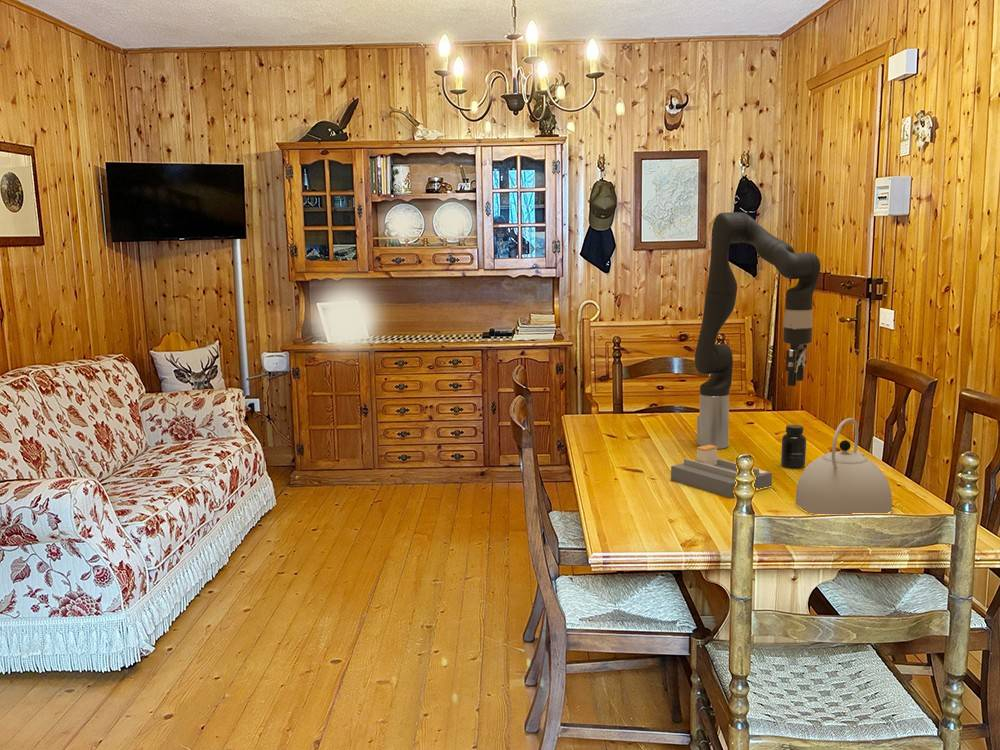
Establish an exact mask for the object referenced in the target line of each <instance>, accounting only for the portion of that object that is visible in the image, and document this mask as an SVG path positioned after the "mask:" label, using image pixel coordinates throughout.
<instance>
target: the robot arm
mask: <svg viewBox="0 0 1000 750" xmlns="http://www.w3.org/2000/svg"><path fill="white" fill-rule="evenodd" d="M740 243H745V244H749V245H752V246H753V247H754V248H755V251H756V253H757V255H758V256H759V257H760V258H761V259H763V260H764V261H766V262H768V263H769V264H771V265H772V266H774V268H775V269H776V270H777V271H778V273H779V274H780V275H781V276H782V277H784V278H786V279H788V280H789V279H790V280H797V284H796V285H795V286H793V287H790V288H788V289H787V290H786V293H785V301H784V302H785V305H784V306H785V310H784V316H783V328H782V329H783V330H782V331H783V333H782V341H783V343H786V344H790V345H789V349H788V348H787V349H786V350H785V352H786V353H785V354H786V357H785V368H784V370H785V372H786V373H787V386H789V387H795V386H797V381H799V382H800V381H801V382H802V381H804V371H805V370H804V369H805V367H806V364H807V350H808V348H807V347H808V344H811V343H812V339H813V338H812V337H813V296H814V292H815V289H816V285H817V283H818V279H819V277H820V273H821V260H820V259H819V256H818V255H817V254H816V253H813V252H796V251H795V249H794V248H793V246H792V245H790V244H789V243H787V242H786V241H784V240H782V239H780V238H779V237H777V236H775V235H773V234H772V233H770V232H768V231H767V230H766V229H765V228H764V227H763V226H762V225H761V224H760V223H758V222H757V221H756V220H755V219H754V218H753V217H751V216H750V215H749V214H748V213H745V212H741V211H740V212H736V211H735V212H729V211H728V212H720V213H718V214H717V215H716V216H715V217H714V220H713V223H712V228H711V241H710V244H711V245H710V263H709V269H708V270H709V271H708V277H707V279H708V280H707V284H706V288H705V289H706V290H705V297H704V306H703V312H702V313H703V314H702V321H701V327H700V331H699V336H698V339H697V343H696V347H695V352H694V365H695V369H696V370H697V372H698V373H699V374H702V375H710V374H711V376H710V378H709V379H707V381H705V382H703V383H701V384H700V386H699V415H697V416H696V445H698V447H701V446H705V445H713V446H717V450H718V449H719V450H721V449H722V450H723V449H726V448H728V447H729V435H730V434H729V425H730V423H729V422H730V421H729V420H730V389H731V387H732V379H733V367H734V366H733V365H734V358H733V357H734V356H733V352H732V349H731V347H730V346H729V345H728V344H725V343H716V342H717V338H718V335H719V332H720V330H721V328H723V325H724V324H725V323H726V322H727V320H728V319H729V317H730V316H731V315H732V313H733V311H734V309H735V307H736V300H737V295H738V284H737V279H736V277H735V275H734V273H733V270H732V269H731V266H730V262H729V249H730V244H740Z"/></svg>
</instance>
